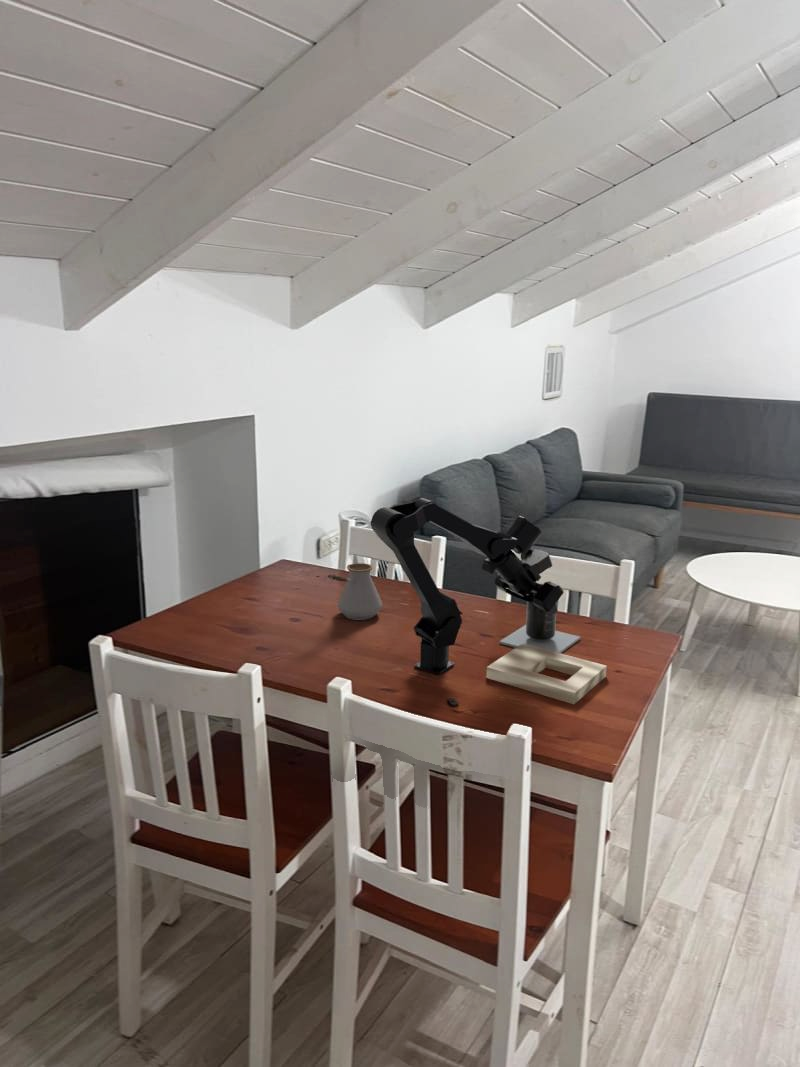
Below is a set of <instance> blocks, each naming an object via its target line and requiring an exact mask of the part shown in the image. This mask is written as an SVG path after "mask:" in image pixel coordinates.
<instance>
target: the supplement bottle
mask: <svg viewBox="0 0 800 1067" xmlns="http://www.w3.org/2000/svg"><path fill="white" fill-rule="evenodd" d="M540 584H541V585H543V584H544V583H540ZM534 596H535V593H533V592H532V596H530V597H529V598H528V600H527V601H526V619H525V621H526V622H525V625H526V634H527V635H528V636H529V637H531V638H533V639H538V640H547V639H551V638H553V637H554V635H555V631H556V627H557V626H556V623H557V613H556V614H553V613H550V612H546V611H544V610H541V609H539V608H537V607H535V605H534V604H533V597H534ZM557 603H558V601H557V602H556V603H555V604H556V607H557ZM557 608H558V607H557Z"/></svg>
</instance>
